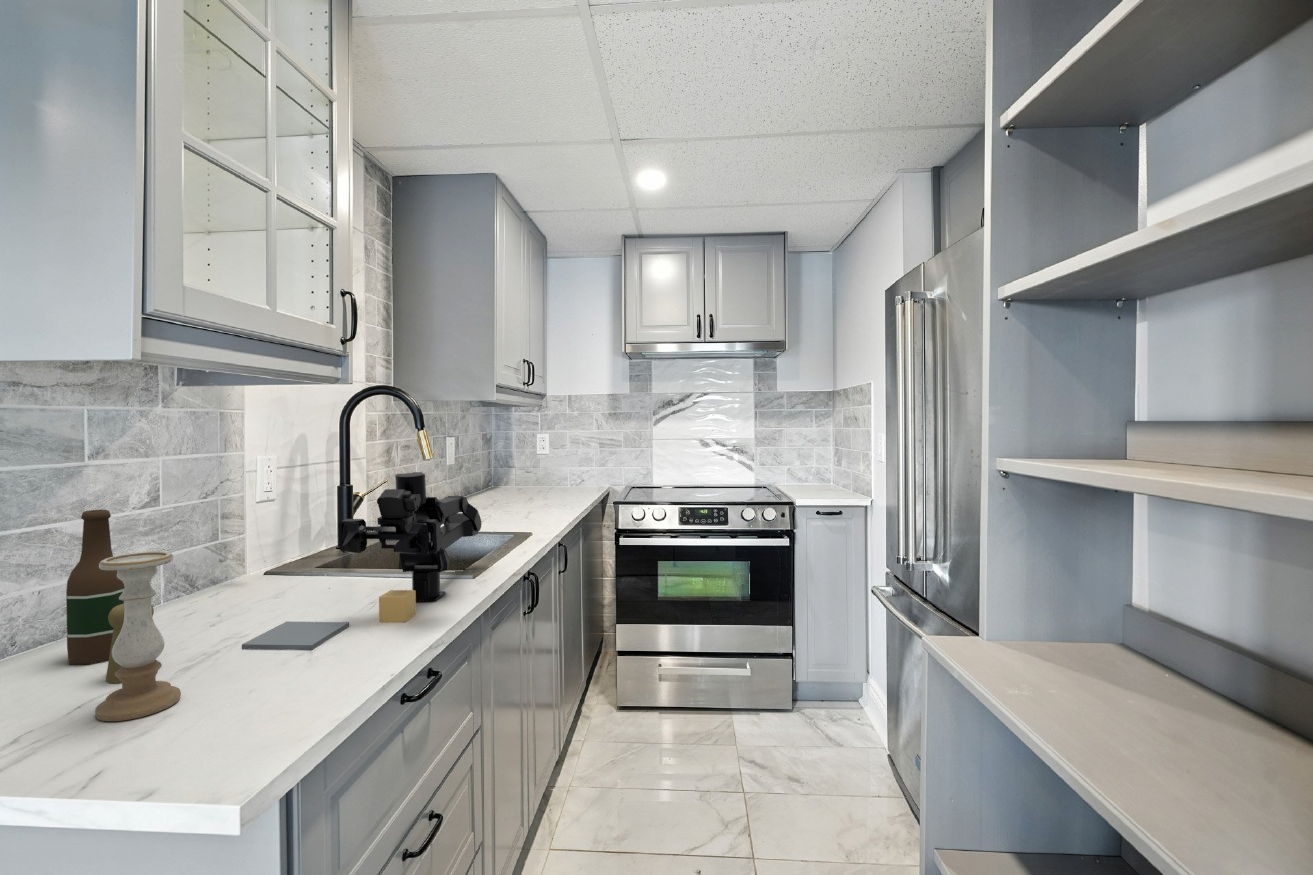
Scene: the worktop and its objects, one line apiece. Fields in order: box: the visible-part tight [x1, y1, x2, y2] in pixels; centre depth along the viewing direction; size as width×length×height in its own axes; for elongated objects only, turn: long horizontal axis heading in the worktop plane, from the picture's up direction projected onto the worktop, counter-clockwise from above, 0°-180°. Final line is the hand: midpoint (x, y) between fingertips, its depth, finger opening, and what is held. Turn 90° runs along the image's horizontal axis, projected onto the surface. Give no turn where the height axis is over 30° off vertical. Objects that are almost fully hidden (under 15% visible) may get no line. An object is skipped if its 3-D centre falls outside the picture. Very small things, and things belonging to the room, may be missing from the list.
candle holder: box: [94, 551, 182, 722], centre depth 82 cm, size 9×9×20 cm
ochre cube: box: [378, 589, 417, 624], centre depth 119 cm, size 5×5×5 cm
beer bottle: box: [65, 509, 124, 666], centre depth 99 cm, size 8×8×24 cm
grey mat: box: [241, 620, 350, 651], centre depth 109 cm, size 12×12×1 cm
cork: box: [105, 604, 155, 685], centre depth 92 cm, size 6×6×11 cm
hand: (368, 548), depth 108 cm, fingers open, 9 cm apart
